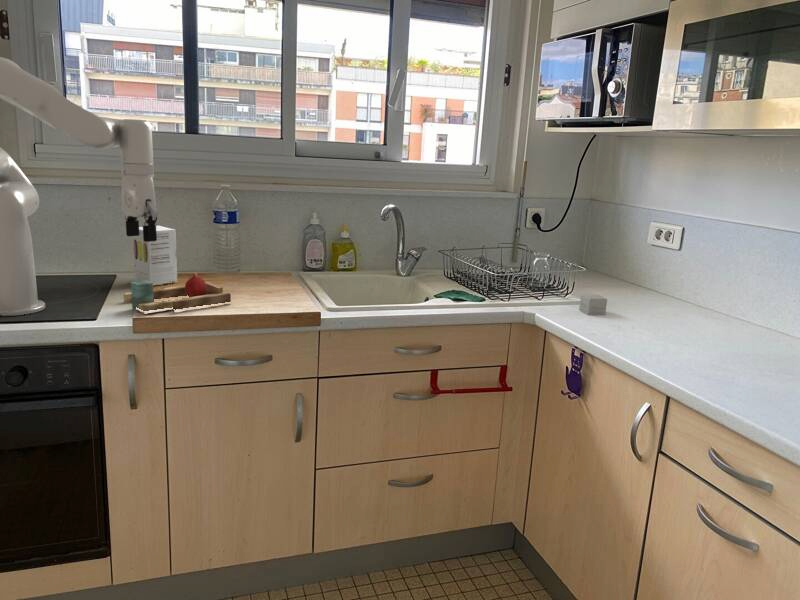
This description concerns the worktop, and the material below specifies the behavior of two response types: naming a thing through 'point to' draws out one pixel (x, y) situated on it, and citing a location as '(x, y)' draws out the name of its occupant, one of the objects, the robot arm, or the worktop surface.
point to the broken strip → (129, 295)
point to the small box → (593, 304)
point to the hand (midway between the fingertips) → (141, 238)
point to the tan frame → (145, 301)
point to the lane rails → (192, 301)
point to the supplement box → (156, 257)
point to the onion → (195, 286)
